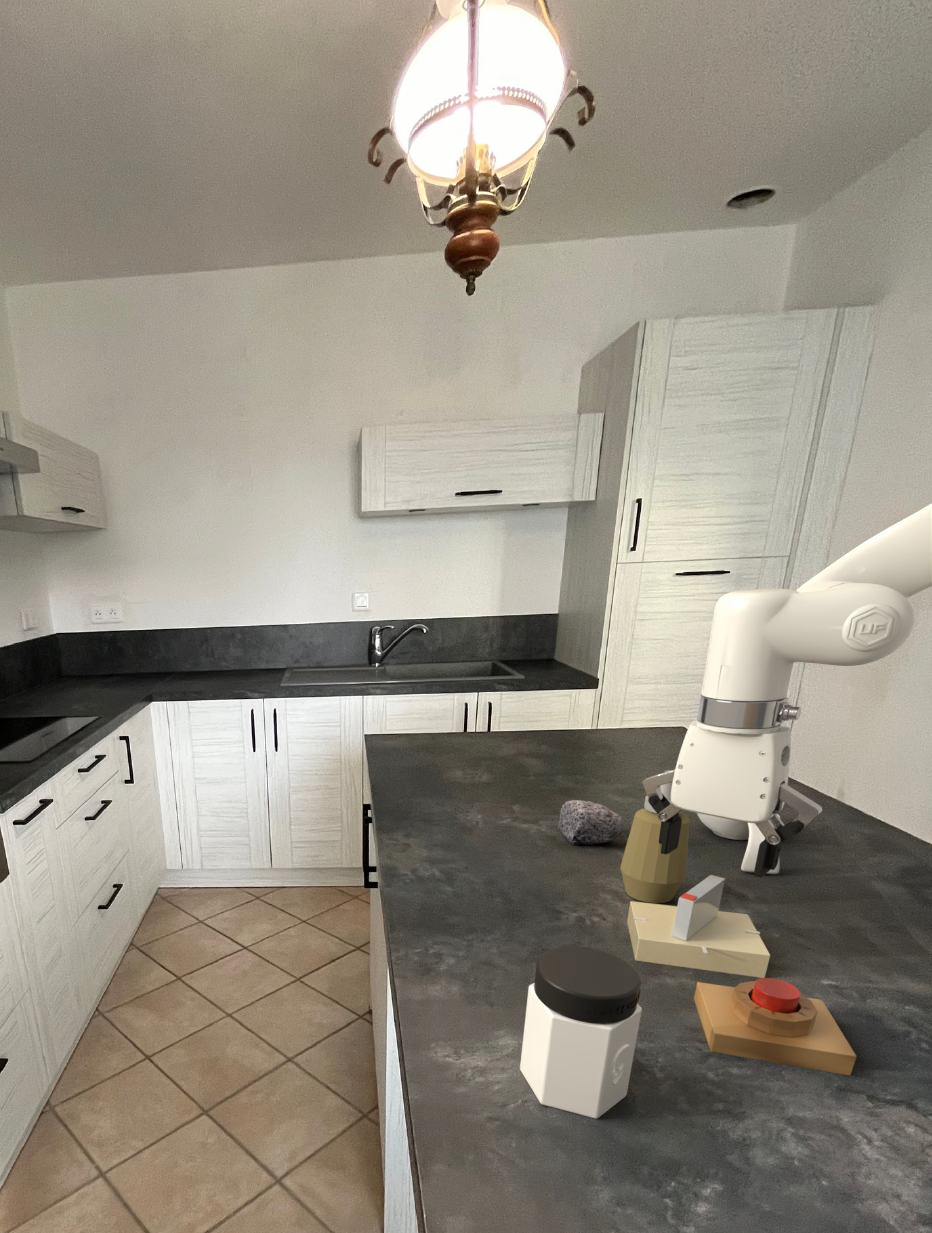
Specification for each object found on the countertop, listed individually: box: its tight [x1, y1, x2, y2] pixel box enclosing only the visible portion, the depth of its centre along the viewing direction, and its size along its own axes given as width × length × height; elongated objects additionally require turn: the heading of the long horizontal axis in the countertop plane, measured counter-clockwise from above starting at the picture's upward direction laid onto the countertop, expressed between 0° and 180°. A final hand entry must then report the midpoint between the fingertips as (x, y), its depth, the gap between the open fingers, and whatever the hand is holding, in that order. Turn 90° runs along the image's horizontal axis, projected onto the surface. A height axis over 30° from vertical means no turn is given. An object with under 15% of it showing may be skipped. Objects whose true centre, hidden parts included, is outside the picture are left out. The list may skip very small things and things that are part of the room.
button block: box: [693, 980, 857, 1076], centre depth 66 cm, size 11×9×4 cm
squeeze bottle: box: [619, 769, 691, 904], centre depth 92 cm, size 8×8×18 cm
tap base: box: [626, 900, 771, 979], centre depth 82 cm, size 13×13×3 cm
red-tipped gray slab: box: [672, 874, 726, 941], centre depth 80 cm, size 9×2×5 cm, turn 129°
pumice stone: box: [557, 799, 625, 846], centre depth 113 cm, size 10×8×10 cm
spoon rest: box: [696, 813, 781, 875], centre depth 109 cm, size 24×12×7 cm, turn 160°
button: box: [751, 977, 802, 1014], centre depth 65 cm, size 4×4×2 cm
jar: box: [519, 945, 643, 1120], centre depth 60 cm, size 9×8×12 cm
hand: (713, 861), depth 78 cm, fingers open, 9 cm apart
